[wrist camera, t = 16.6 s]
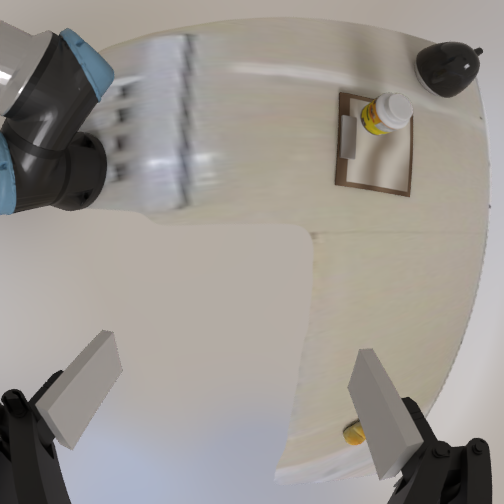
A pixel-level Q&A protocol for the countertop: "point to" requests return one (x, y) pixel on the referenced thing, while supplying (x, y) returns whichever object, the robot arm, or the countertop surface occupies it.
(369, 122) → the supplement bottle
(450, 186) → the countertop surface
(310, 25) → the countertop surface
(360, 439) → the bread roll
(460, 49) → the pump dispenser
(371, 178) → the clipboard
